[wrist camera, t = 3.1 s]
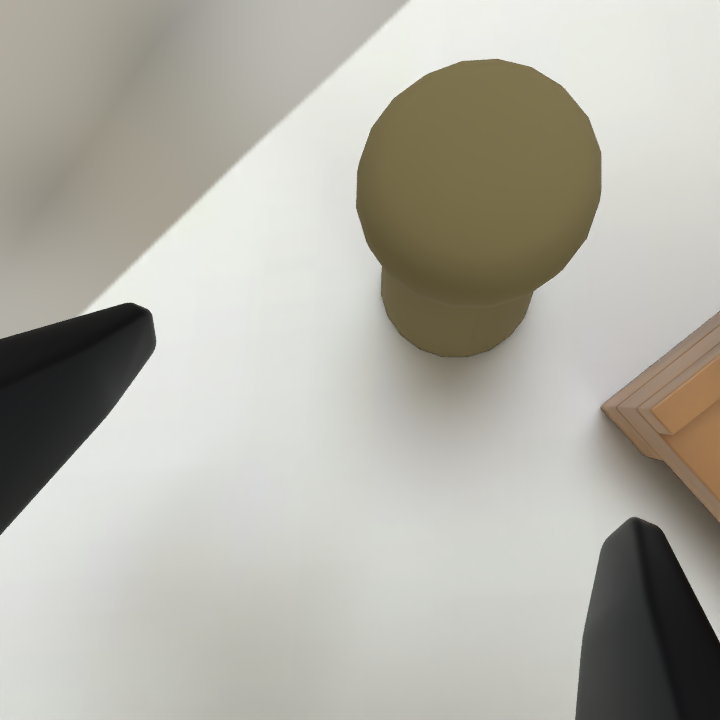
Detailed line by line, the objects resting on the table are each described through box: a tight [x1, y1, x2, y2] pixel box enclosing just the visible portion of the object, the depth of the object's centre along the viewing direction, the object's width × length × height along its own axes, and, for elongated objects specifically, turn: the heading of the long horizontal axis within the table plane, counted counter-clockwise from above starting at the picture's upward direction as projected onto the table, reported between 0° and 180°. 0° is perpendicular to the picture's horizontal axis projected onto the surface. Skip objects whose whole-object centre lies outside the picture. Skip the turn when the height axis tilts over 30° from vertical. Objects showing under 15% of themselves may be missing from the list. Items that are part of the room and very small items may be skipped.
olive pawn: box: [356, 59, 601, 357], centre depth 15 cm, size 6×6×11 cm
